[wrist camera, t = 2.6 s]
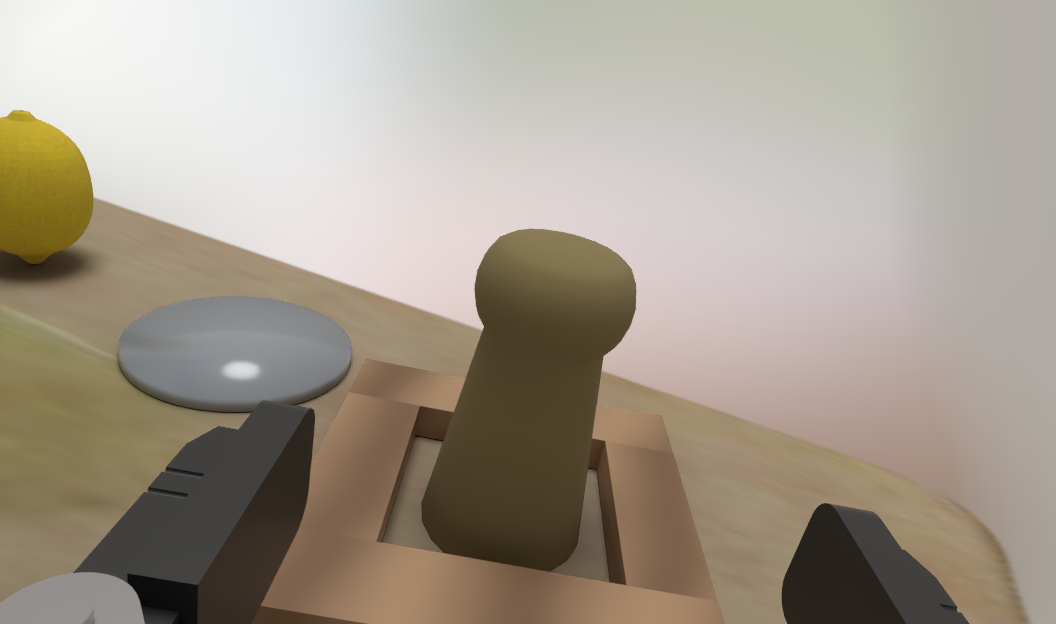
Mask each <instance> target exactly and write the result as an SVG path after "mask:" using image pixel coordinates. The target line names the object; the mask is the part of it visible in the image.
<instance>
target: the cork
mask: <svg viewBox="0 0 1056 624" xmlns="http://www.w3.org/2000/svg"><path fill="white" fill-rule="evenodd" d="M475 299H476V307H477V311H478V315H479V317H480V319H481V321H482V323H483V325H484V328H483V331H482V334H481V337H480V340H479V342H478V345H477V348H476V351H475V354H474V357H473V359H472V362H471V365H470V368H469V371H468V373H467V376H466V379H465V382H464V385H463V388H462V390H461V393H460V396H459V399H458V402H457V404H456V407H455V410H454V413H453V416H452V419H451V421H450V424H449V427H448V430H447V433H446V435H445V438H444V441H443V444H442V447H441V450H440V452H439V455H438V458H437V461H436V464H435V466H434V469H433V472H432V475H431V478H430V481H429V483H428V486H427V489H426V492H425V495H424V497H423V500H422V521H423V523H424V525H425V527H426V529H427V531H428V533H429V535H430V537H431V539H432V540H433V541H434V542H435V543H436V544H437V545H438V546H439V547H440V548H441V549H442V550H443V551H444V552H445V553H446V554H451V555H456V556H462V557H468V558H473V559H479V560H485V561H491V562H496V563H502V564H508V565H513V566H519V567H525V568H530V569H536V570H542V571H547V572H549V571H551V570H553V569H554V568H556V567H557V566H559V565H560V564H562V563H563V562H565V561H566V560H568V558H569V556H570V555H571V553H572V552H573V550H574V549H575V547H576V546H577V542H578V535H579V528H580V521H581V514H582V506H583V499H584V492H585V485H586V478H587V470H588V463H589V456H590V449H591V442H592V434H593V427H594V420H595V413H596V406H597V398H598V391H599V384H600V377H601V370H602V362H603V356H604V355H605V354H607V353H608V352H610V351H611V350H612V349H614V348H615V347H616V346H617V344H618V343H619V342H621V340H622V338H623V337H624V335H625V334H626V332H627V330H628V329H629V327H630V325H631V322H632V319H633V316H634V313H635V309H636V283H635V279H634V276H633V273H632V269H631V268H630V267H629V265H628V264H627V263H626V262H625V261H624V260H623V259H622V258H621V257H620V256H619V255H618V254H617V253H615V252H614V251H612V250H611V249H609V248H608V247H605V246H603V245H601V244H599V243H597V242H595V241H592V240H589V239H586V238H583V237H580V236H576V235H572V234H568V233H564V232H558V231H551V230H544V229H525V230H518V231H515V232H511V233H509V234H506V235H503V236H501V237H499V239H498V240H497V241H496V242H495V243H494V244H493V245H492V246H491V247H490V248H489V249H488V251H487V252H486V254H485V255H484V258H483V260H482V262H481V264H480V266H479V269H478V271H477V276H476V282H475Z"/></svg>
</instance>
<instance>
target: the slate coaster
mask: <svg viewBox="0 0 1056 624" xmlns="http://www.w3.org/2000/svg"><path fill="white" fill-rule="evenodd" d="M118 350H119V363H120V368H121V370H122V372H123V374H124V375H125V376H126V378H127V379H128V380H129V381H130V382H131V383H132V384H133V385H135V386H136V387H137V388H138V389H140V390H142V391H143V392H145V393H147V394H149V395H151V396H153V397H155V398H158V399H160V400H163V401H166V402H169V403H172V404H175V405H179V406H184V407H188V408H193V409H200V410H207V411H219V412H251V411H254V409H255V408H256V407H257V405H258V404H259V403H260V402H261V401H263V400H267V401H273V402H278V403H284V404H289V405H295V404H298V403H302V402H305V401H307V400H310V399H313V398H315V397H317V396H319V395H321V394H323V393H325V392H327V391H329V390H330V389H331V388H333V387H334V386H336V385H337V384H338V383H339V382H340V381H341V380H342V379H343V378H344V376H345V375H346V373H347V372H348V369H349V367H350V361H351V353H352V346H351V341H350V339H349V337H348V335H347V334H346V332H345V331H344V330H343V329H342V328H341V327H340V326H339V325H338V324H337V323H335V322H334V321H333V320H331V319H330V318H328V317H326V316H324V315H322V314H320V313H318V312H316V311H314V310H311V309H308V308H306V307H303V306H299V305H296V304H292V303H288V302H284V301H279V300H273V299H266V298H257V297H239V296H227V297H210V298H200V299H194V300H188V301H183V302H178V303H174V304H171V305H167V306H164V307H161V308H159V309H156V310H153V311H151V312H149V313H147V314H145V315H143V316H142V317H140V318H138V319H137V320H135V321H134V322H133V323H132V324H131V325H129V326H128V327H127V329H126V330H125V331H124V332H123V334H122V336H121V338H120V340H119V347H118Z"/></svg>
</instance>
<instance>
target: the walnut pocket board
mask: <svg viewBox="0 0 1056 624" xmlns="http://www.w3.org/2000/svg"><path fill="white" fill-rule="evenodd" d="M465 379H466V378H462V377H457V376H452V375H447V374H442V373H436V372H431V371H426V370H421V369H416V368H410V367H405V366H400V365H395V364H390V363H384V362H379V361H374V360H369V359H366V360H365V362H364V364H363V366H362V368H361V370H360V372H359V374H358V376H357V378H356V379H355V381H354V383H353V385H352V387H351V389H350V391H349V393H348V395H347V397H346V398H345V400H344V402H343V404H342V406H341V408H340V410H339V412H338V414H337V416H336V418H335V419H334V421H333V423H332V425H331V427H330V429H329V431H328V433H327V435H326V437H325V438H324V440H323V442H322V444H321V446H320V448H319V450H318V452H317V454H316V456H315V458H314V459H313V461H312V463H311V471H310V482H309V492H308V498H307V503H306V507H305V511H304V515H303V518H302V521H301V524H300V527H299V529H298V532H297V534H296V536H295V538H294V540H293V542H292V544H291V546H290V548H289V550H288V552H287V554H286V556H285V558H284V560H283V562H282V564H281V566H280V568H279V570H278V572H277V574H276V576H275V578H274V580H273V582H272V584H271V586H270V588H269V590H268V592H267V594H266V596H265V598H264V600H263V602H262V604H261V606H260V608H259V610H258V612H257V614H256V616H255V618H254V620H253V622H252V624H724V621H723V618H722V615H721V611H720V608H719V605H718V601H717V598H716V595H715V591H714V588H713V585H712V581H711V578H710V575H709V571H708V568H707V565H706V561H705V558H704V555H703V551H702V548H701V545H700V542H699V538H698V535H697V532H696V528H695V525H694V522H693V518H692V515H691V512H690V508H689V505H688V502H687V498H686V495H685V492H684V488H683V485H682V482H681V478H680V475H679V472H678V468H677V465H676V462H675V459H674V455H673V452H672V449H671V445H670V442H669V439H668V435H667V432H666V429H665V425H664V422H663V419H662V416H660V415H654V414H649V413H644V412H639V411H634V410H628V409H623V408H618V407H613V406H608V405H602V404H597V406H596V413H595V420H594V427H593V434H592V442H591V449H590V456H589V463H588V467H589V468H594V469H597V476H598V485H599V493H600V501H601V510H602V518H603V527H604V535H605V543H606V552H607V560H608V568H609V577H610V582H604V581H599V580H593V579H587V578H582V577H576V576H570V575H565V574H559V573H553V572H547V571H542V570H536V569H530V568H525V567H519V566H513V565H508V564H502V563H496V562H491V561H485V560H479V559H473V558H468V557H462V556H456V555H451V554H445V553H439V552H434V551H428V550H422V549H416V548H411V547H405V546H399V545H394V544H388V543H382V540H383V537H384V534H385V530H386V527H387V524H388V521H389V517H390V514H391V511H392V508H393V505H394V501H395V498H396V495H397V492H398V488H399V485H400V482H401V479H402V476H403V472H404V469H405V466H406V463H407V459H408V456H409V453H410V450H411V447H412V443H413V440H414V437H415V435H417V436H422V437H427V438H433V439H438V440H444V438H445V435H446V433H447V430H448V427H449V424H450V421H451V419H452V416H453V413H454V410H455V407H456V404H457V402H458V399H459V396H460V393H461V390H462V388H463V385H464V382H465Z"/></svg>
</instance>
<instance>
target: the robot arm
mask: <svg viewBox="0 0 1056 624" xmlns="http://www.w3.org/2000/svg"><path fill="white" fill-rule="evenodd" d="M314 425H315V414H314V410H313V409H311V408H306V407H300V406H295V405H289V404H284V403H278V402H273V401H267V400H263V401H261V402H260V403H259V404H258V405H257V407H256V408H255V409H254V411H253V412H252V413H251V414H250V416H249V417H248V418H247V420H246V421H245V422H244V423H243V425H242V426H241V427H240V429H239V430H237V429H231V428H226V427H220V426H218V427H216V428H214V429H212V430H211V431H209V432H207V433H205V434H203V435H201V436H200V437H198V438H196V439H194V440H192V441H191V442H189V443H187V444H186V445H185V446H184V447H183V448H182V450H181V451H180V452H179V453H178V454H177V455H176V456H175V458H174V459H173V460H172V461H171V462H170V463H169V464H168V466H167V467H166V470H165V472H161V474H160V475H159V476H158V477H157V478H156V479H155V480H154V481H153V483H152V484H151V485H150V486H149V488H148V491H147V493H146V492H144V493H143V494H142V495H141V496H140V497H139V499H138V500H137V501H136V502H135V503H134V504H133V505H132V507H131V508H130V509H129V510H128V511H127V512H126V513H125V515H124V516H123V517H122V518H121V519H120V520H119V521H118V523H117V524H116V525H115V526H114V527H113V528H112V529H111V531H110V532H109V533H108V534H107V535H106V536H105V537H104V538H103V540H102V541H101V542H100V543H99V544H98V545H97V546H96V548H95V549H94V550H93V551H92V552H91V553H90V554H89V556H88V557H87V558H86V559H85V560H84V561H83V562H82V564H81V565H80V566H79V567H78V568H77V569H76V570H75V572H74V573H70V574H64V575H60V576H55V577H52V578H48V579H45V580H42V581H39V582H37V583H35V584H32V585H30V586H27V587H25V588H24V589H22V590H20V591H18V592H16V593H14V594H13V595H11V596H10V597H8V598H7V599H5V600H4V601H2V602H1V603H0V624H252V622H253V620H254V618H255V616H256V614H257V612H258V610H259V608H260V606H261V604H262V602H263V600H264V598H265V596H266V594H267V592H268V590H269V588H270V586H271V584H272V582H273V580H274V578H275V576H276V574H277V572H278V570H279V568H280V566H281V564H282V562H283V560H284V558H285V556H286V554H287V552H288V550H289V548H290V546H291V544H292V542H293V540H294V538H295V536H296V534H297V532H298V529H299V527H300V524H301V521H302V518H303V515H304V511H305V507H306V503H307V498H308V492H309V482H310V471H311V459H312V448H313V437H314ZM782 607H783V612H784V616H785V619H786V622H787V624H969V623H968V621H967V620H966V619H965V617H964V616H963V614H962V613H959V612H957V606H956V605H955V603H954V602H953V601H952V599H951V598H950V596H949V595H948V594H947V592H946V591H945V590H944V588H943V587H942V585H941V584H940V583H939V581H938V580H937V578H936V577H935V576H934V575H932V574H931V573H930V572H929V571H928V570H927V569H926V568H924V567H923V566H922V565H921V564H920V563H919V562H918V561H917V560H915V559H914V558H913V557H912V556H911V555H910V554H909V553H908V552H906V551H905V550H902V549H901V547H900V546H899V545H898V543H897V542H896V540H895V539H894V537H893V536H892V535H891V533H890V532H889V530H888V529H887V527H886V526H885V524H884V523H883V522H882V520H881V519H880V518H879V516H878V515H877V514H875V513H874V512H871V511H866V510H861V509H855V508H850V507H844V506H839V505H833V504H827V503H824V504H821V505H819V506H818V507H817V508H816V510H815V511H814V513H813V515H812V517H811V519H810V521H809V523H808V526H807V528H806V530H805V532H804V534H803V537H802V539H801V541H800V543H799V546H798V548H797V550H796V552H795V554H794V557H793V559H792V561H791V563H790V566H789V568H788V570H787V572H786V575H785V577H784V581H783V586H782Z"/></svg>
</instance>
